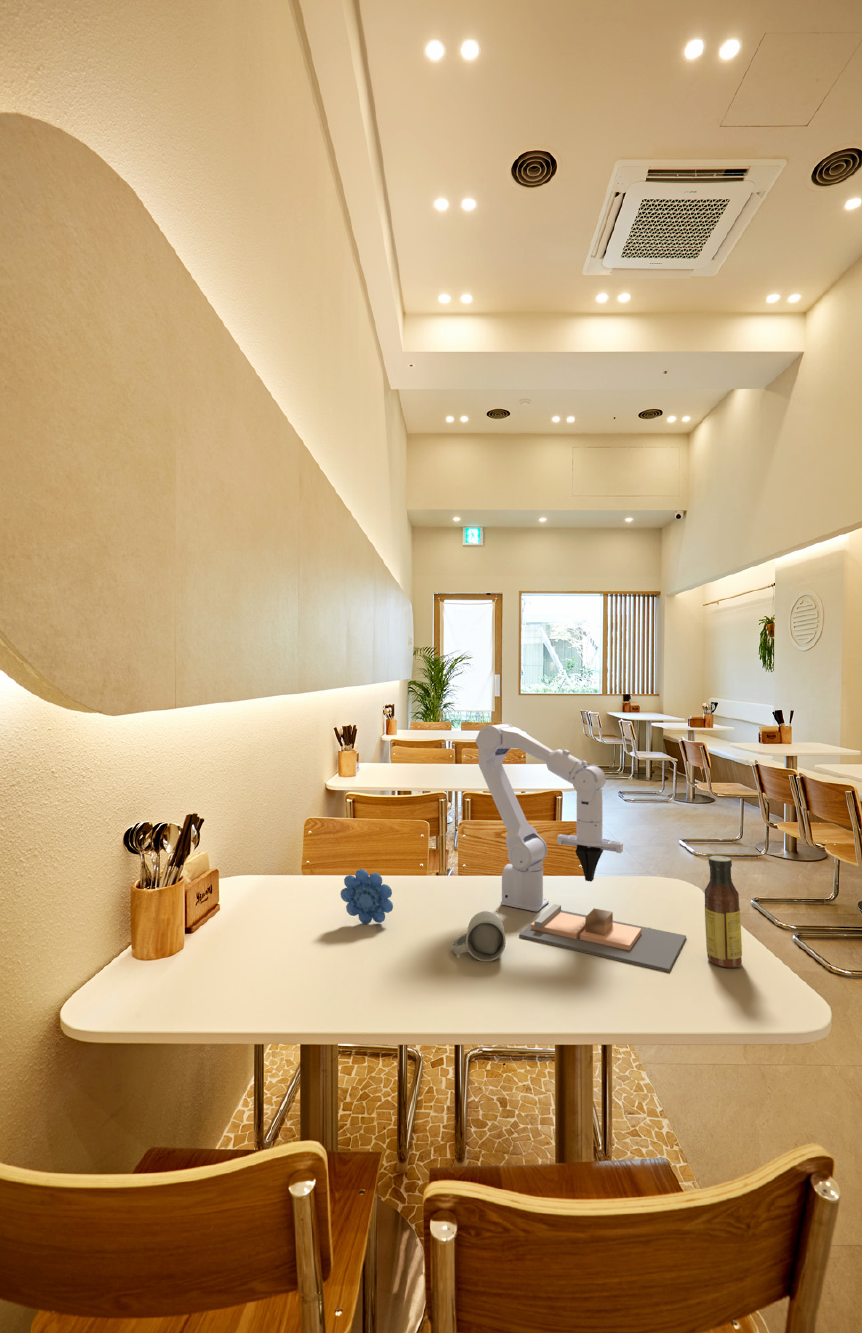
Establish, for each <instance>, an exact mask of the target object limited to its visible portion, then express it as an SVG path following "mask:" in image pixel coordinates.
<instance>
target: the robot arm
mask: <svg viewBox="0 0 862 1333" xmlns="http://www.w3.org/2000/svg"><path fill="white" fill-rule="evenodd" d="M475 743H476V746H477V747H478V748H477V750H478V767H479V769H480V772H481V774H482V776H483V778H484V781H485V783H486V786H487V788H488V790H489V793H490V794H491V798H492V799H493V802H494V803H495V806H496V809H497V810H498V813H499V816H500V818H501V820H502V822H503V825H504V827H505V829H506V837H505V841H504V842H505V846H506V849H507V858H508V861H509V863H507V864H506V865H505V866H504V868H503V869H502V870H503V871H502V874H501V901H500V905H503V906H506V907H507V906H508V907H513V908H517V909H521V910H525V911H526V910H527V911H530V912H531V911H532V912H539V911H540V910H542V909H543V907H545V905H547V904H548V903H549V902H550V901H549V899H546V898H544V863H543V860H545V858H546V856H547V854H548V846H547V843H546V841H545V840H544V839H543V838H542V837H541V836H540V835H539V833H538V831H537V829H536V828H535V827H534V826H532V825H531V824H530V823H528V820H527V818H526V816H525V814H524V811H523V809H522V807H521V805H520V803H519V800H518V798H517V796H516V793H515V791H514V788H513V787H512V784H511V781H510V779H509V778H508V775H507V773H506V771H505V769H504V766H503V762H504V760H505V758H506V756H507V754H508V752H509V751H510V750H511V749H518V750H521V751H522V752H524V753H525V754H528V755H530V756H532V757H534V758H535V759H538V760H540V761H541V762H543V763H545V764H546V767H547V770H548V771H549V772H550V773H552V774H554V775H556V776H557V777H559V778H561V779H563V780H564V781H566V782H567V783H569V784H572V787H573V788H574V790H575V792H576V835H573V834H572V835H569V834H561V833H560V834H558V835H557V836H556V837H557V839H556V841H557V842H556V843H557V845H558V846H560V845H561V846H563V845H564V846H565V845H566V846H573V847H576V849H575V850H574V851H575V854H576V856H577V858H578V861H579V862H580V865H581V867H582V871H583V874H584V880H585V882H593V881H594V880H595V873H596V870H597V865H598V863H599V860H600V858H601V856H602V854H603V852H604V851H609V852H615V853H617V854H621V853H623V852H624V843H623V842H621V841H615V840H610V839H607V838H603V787H604V786H605V785H606V782H607V778H606V773H605V772H604V770H603V769H602V768H600V767H599V766H598V765H597V764H591V765H590V764H589V765H588V761H586V760H581V759H579V758H577V757H576V756H574V755H571V754H570V753H571V751H570V750H568V749H555V750H553V749H551V748H549V747H548V746H547V745H544V744H543V743H541V742H540V741H539V740H537V739H535V738H534V737H532V736H530V735H528V734H527V733H525V731H522V729H520V728H518V727H516V726H513V725H512V724H510V723H507V722H506V723H505V722H504V723H501V724H493V725H492V724H488V725H487V724H486V725H484V726H483V727H481V729H480V730H479V731H478V734H477V737H476V738H475Z"/></svg>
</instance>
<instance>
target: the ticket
mask: <svg viewBox="0 0 862 1333" xmlns="http://www.w3.org/2000/svg"><path fill="white" fill-rule="evenodd" d="M561 910H562V905H560V904H556V903H555V904H553V905H551V907H549V908H548V909H547V910H546V911H545V912H543V913H542V914H541V915H540V916H538V918H536V919H535V920H534V921H533V922H532V923H530V925H531V929H534V930H538V931H543V932H547V933H551V934H556V935H560V936H565V937H569V938H574V939H577V938H578V937H579V936H580V934H581V933H582V932H583V931H584V930H585V917H581V916H576V915H571V914H566V913H561V912H560V911H561Z"/></svg>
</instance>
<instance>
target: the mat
mask: <svg viewBox="0 0 862 1333" xmlns="http://www.w3.org/2000/svg"><path fill="white" fill-rule="evenodd" d="M560 912H561V913H566V914H571V915H576V916H581V917H586V916H587V915H588V914H587V915H586V914H582V913H577V912H571V911H567V910H563V909H561V911H560ZM613 923H617V924H622V925H627V926H632V927H637V928H641V935H640V936H639V938H638V939H637V940H636V942H635V943H634V945H633V946H632V948H631V949H630V951H629V950H625V949H620V948H616V947H612V946H607V945H603V944H598V943H594V942H589V941H585V940H580V936H579V937H578V938H577V939H574V938H569V937H565V936H560V935H556V934H551V933H547V932H543V931H538V930H534V929H531V924H529V925H528V926H526V928H525V929H523V930H522V931H521V932H520V933H519V935H518V938H521V939H526V940H530V941H534V942H538V943H543V944H547V945H550V946H551V945H552V946H555V947H560V948H564V949H568V950H571V951H577V952H580V953H581V952H582V953H585V954H590V955H593V956H596V957H597V956H598V957H602V958H607V959H611V960H615V961H619V962H624V963H627V964H632V965H635V966H636V965H637V966H641V967H645V968H650V969H653V970H657V971H663V972H665V973H666V972H667V973H670V972H671V970H672V968H673V966H674V963H675V962H676V960H677V958H678V956H679V953H680V952H681V949H682V948H683V946H684V944H685V942H686V940H687V935H685V934H681V933H675V932H670V931H665V930H661V929H655V928H650V927H645V926H641V925H636V924H631V923H626V922H621V921H616V920H613Z"/></svg>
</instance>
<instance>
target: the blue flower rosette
mask: <svg viewBox="0 0 862 1333" xmlns="http://www.w3.org/2000/svg"><path fill="white" fill-rule="evenodd" d="M343 883H344V886H345V888H342V889H341V891H340V898H341V899H342V901H343V902H344V903H347V904H346V906H345V908H346V913H347V914H348V915H349V916H352V917H356V916H358V920H359V921H360V922H361V923H362V924H363V925H369V924H370V923H371V922H372V920H373V921H374V922H375V923H378V924H381V923H383V922H385V919H386V914H385V913H387V914H388V913H389V914H390V913H391V912H392V911H393V909H394V904H393V902H392V901H391V900H390V898H391V897H392V894H393V891H392V888H391V887H390V885H388V884H384V883H383V877H382V876H381V875H380V874H379V873H377V872H372V873H370V874H369V873H368V872H367V870H365V869H362V868H359V869H358V870H356V871H355V876H354V875H351V874H349V875H347V876H345V878H344V879H343Z"/></svg>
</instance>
